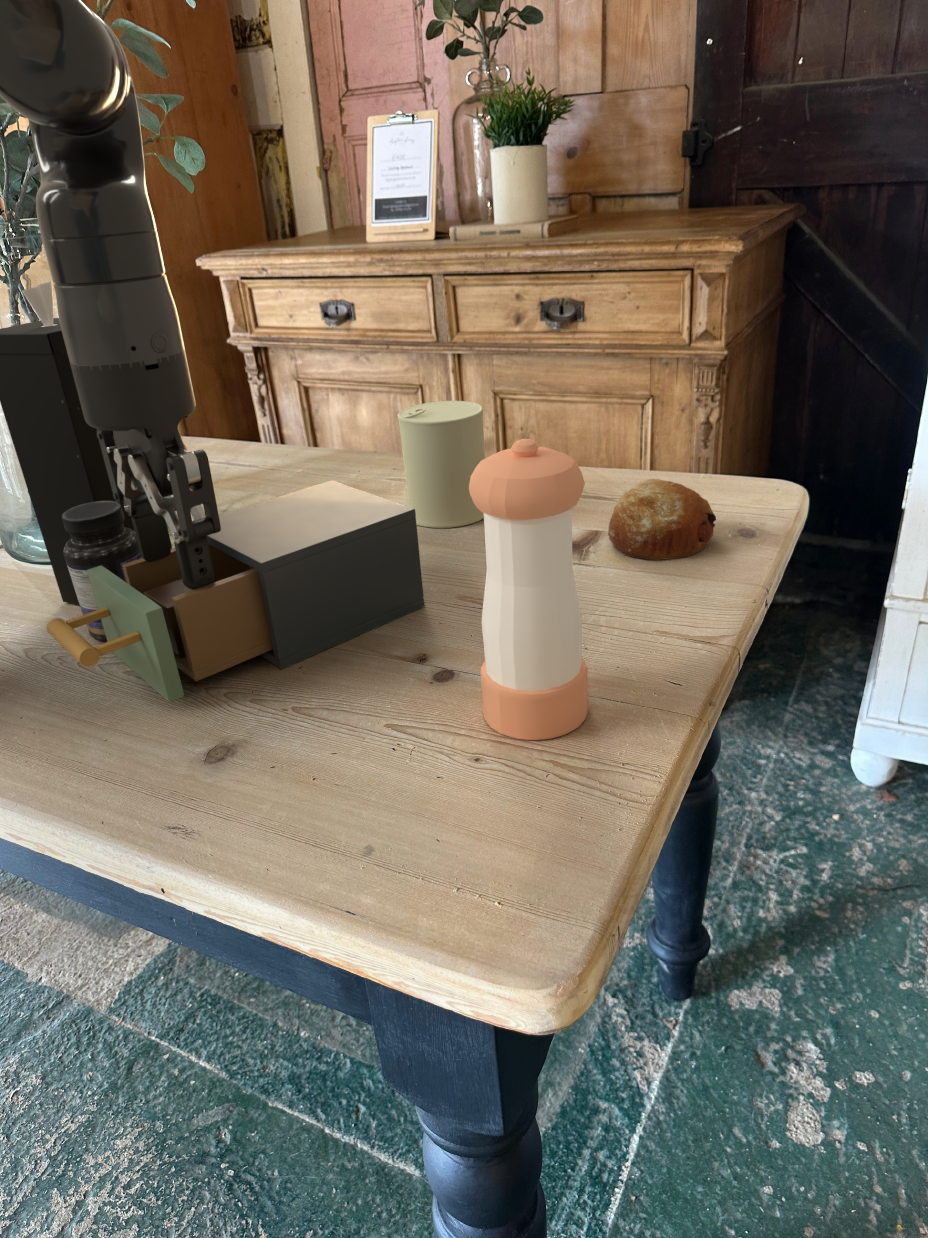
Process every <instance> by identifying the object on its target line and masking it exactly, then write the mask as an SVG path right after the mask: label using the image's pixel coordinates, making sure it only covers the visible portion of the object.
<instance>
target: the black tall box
mask: <svg viewBox="0 0 928 1238" xmlns="http://www.w3.org/2000/svg"><path fill="white" fill-rule="evenodd" d="M53 288H54V287H53V281H49V282H44V283H40V284H37V285H36V286H34V287H29V288H26V289H22V290H21V293H22V294H23V297H25V299H26V300H27V303H28V304H29V305H30V307H31V308H32V310H33V311H34V313H35V314H36V316H37V317H38V319H39V320H35V321H31V322H30V321H29V322H26V323H21V324H17V325H11V326H7V327H2V328H0V406H1V410H2V412H3V416H4V419H5V422H6V425H7V429H8V432H9V436H10V438H11V441H12V444H13V447H14V451H15V454H16V456H17V460H18V463H19V466H20V470H21V473H22V476H23V479H24V482H25V485H26V489H27V492H28V495H29V499H30V502H31V504H32V508H33V511H34V514H35V517H36V521H37V524H38V528H39V531H40V533H41V537H42V539H43V543H44V546H45V549H46V553H47V555H48V559H49V563H50V565H51V569H52V571H53V575H54V577H55V581H56V584H57V587H58V591H59V593H60V597H61V600H62V602H63V603H68V604H72V605H77V606H80V604H79V601H78V598H77V595H76V592H75V589H74V585H73V582H72V579H71V576H70V573H69V570H68V567H67V563H66V560H65V558H64V547H65V545H66V543H67V542H68V541H69V539H71V536H70V534H69V533H68V532H67V531H66V530H65V527H64V523H63V520H62V515H63V513H64V512H66V511H67V510H69V509H71V508H73V507H76V506H79V505H82V504H86V503H90V502H97V501H115V502H116V500H115V499H114V497H113V491H112V488H111V484H110V480H109V477H108V473H107V469H106V465H105V462H104V458H103V454H102V450H101V447H100V443H99V439H98V437H97V429H95V428H93V427H91V426H89V425H88V424H87V423H86V421H85V419H84V415H83V411H82V407H81V404H80V400H79V396H78V392H77V388H76V384H75V381H74V377H73V373H72V369H71V365H70V361H69V358H68V354H67V350H66V346H65V342H64V339H63V335H62V331H61V327H60V322H59V317H54V289H53ZM120 505H121V507H122V510H123V514H124V516H125V518H124V519H125V520H124V522H123V524H124V527H127V528H129V529H131V530H133V531H134V527H133V523H132V519H131V517H133V516H128V515H127V513H126V512H125V510H124V502H123V503H120ZM163 519H164V517H163ZM164 524H165V528H166V532H167V536H168V541H169V545H170V549H172V548H173V545H172V541H171V536H170V531H169V528H168V525H167V523H166V521H165V519H164ZM134 532H135V531H134Z"/></svg>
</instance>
